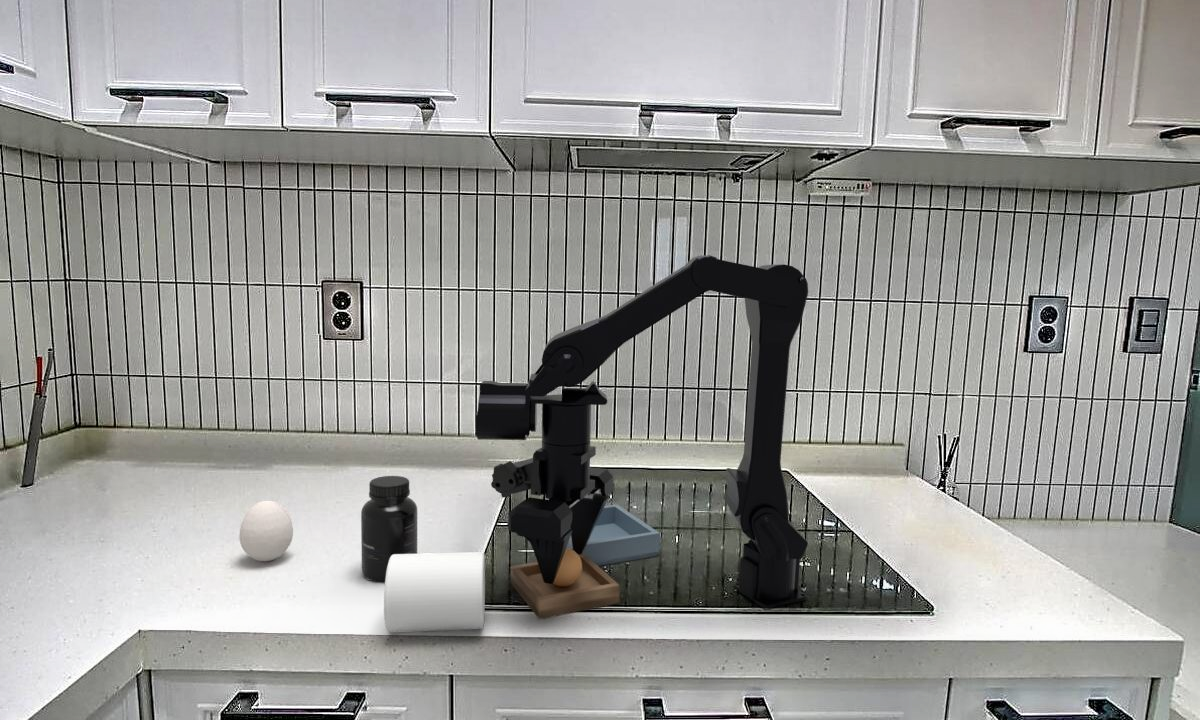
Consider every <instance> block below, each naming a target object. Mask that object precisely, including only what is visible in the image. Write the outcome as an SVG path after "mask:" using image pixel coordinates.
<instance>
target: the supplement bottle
mask: <svg viewBox="0 0 1200 720" xmlns="http://www.w3.org/2000/svg"><path fill="white" fill-rule="evenodd" d="M368 488H369V491H368V498H370V499H369V500H368V501H366V502H365V503H364V504H363V506H362V509H361V515H360V517H361V519H360V521H361V523H360V524H361V525H360V528H361V533H360V534H361V535H360V537H361V541H360V542H361V545H360V547H361V573H362V575H363V576H364V578H366V579H368V580H370V581H373V582H376V583H385V578H386V571H387V566H388V562H389V559H390V557H391V556H392V555H393V554H418V506H417V504H416V502H415V501H414V500H413V499H412V498H410V497H409V496H410V495H411V490H410V480H409V478H407V477H405V476H400V475H383V476H379V477H376V478H373V479H371V480H370V481H369V487H368Z"/></svg>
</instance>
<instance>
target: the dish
mask: <svg viewBox="0 0 1200 720" xmlns="http://www.w3.org/2000/svg"><path fill="white" fill-rule="evenodd" d="M660 538H661V533H660V532H659V531H657V530H656V529H654V528H653V527H652V526H650V525H649V524H647V523H646V522H645V521H642V520H641V519H639V518H638V517H637V516H635V515H633V514H632V513H631V512H630V511H628V510H626V509H625V508H624V507H622V506H620V505H619V504H617V503H616V504H610V505H605V506H604V508H603V510H602V513H601V515H600V517H599V519H598V521H597V523H596V525H595V527H594V529H593V531H592V534H591V536H590V538H589V540H588V542H587V545H586V547H585V549H584V551H583V553H582V554H585V555H586V556H587V557H588V558H589V559H591V560H592V561H593V562H594V563H595V564H596V565H597V566H599V567H603V566H606V565H607V566H608V565H612V564H613V565H614V564H618V563H624V562H630V561H635V560H636V561H637V560H641V559H646V558H653V557H658V556H660V543H661V542H660V541H661V539H660ZM566 548H569V549H572V550H573V546H572V538H571V536H570V539H569V542H568V545H567V547H566ZM582 554H578V555H582Z"/></svg>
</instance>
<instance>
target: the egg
mask: <svg viewBox="0 0 1200 720" xmlns="http://www.w3.org/2000/svg"><path fill="white" fill-rule="evenodd" d="M239 527H240V528H239V543H240V546H241V548H242V550H243V552H244V553H245V554H246V555H247V556H249V557H250V558H251V559H253V560H255V561H259V562H270V561H274V560H276V559H277V558H279V557H281V556H282V555H283V554H284V553H285V552H286V551H287V550H288V549H289V546H291V543H292V541H293V537H294V527H293V521H292V518H291V516H290V514H289V513H288V512H287V510H286V509H285V508H284V506H282V505H281V504H280V503H278V502H275V501H274V500H273V501H272V500H262V501H260V502H257V503H255V504H254V505H252V506H251V507H250V508H249V509H248V510H247V512H246V513H245V515H244V517H243V519H242V521H241V524H240V526H239Z"/></svg>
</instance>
